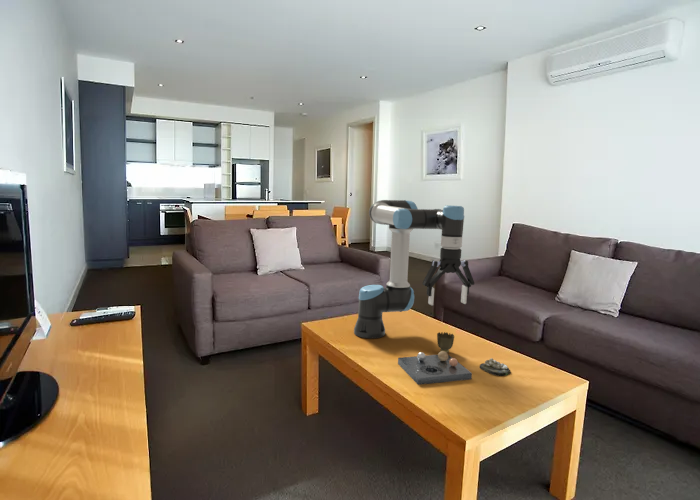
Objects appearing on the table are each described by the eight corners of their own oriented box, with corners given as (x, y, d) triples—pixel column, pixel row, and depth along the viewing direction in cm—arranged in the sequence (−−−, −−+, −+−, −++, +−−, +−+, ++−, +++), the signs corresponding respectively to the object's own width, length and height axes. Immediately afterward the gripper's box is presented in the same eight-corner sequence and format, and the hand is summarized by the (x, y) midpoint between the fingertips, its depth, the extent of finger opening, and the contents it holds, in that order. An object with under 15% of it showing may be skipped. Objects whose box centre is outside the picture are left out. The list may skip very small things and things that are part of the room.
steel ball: (415, 359, 169) (415, 351, 169) (423, 358, 170) (423, 350, 170) (419, 362, 166) (419, 354, 166) (426, 362, 167) (427, 353, 167)
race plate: (397, 363, 171) (398, 357, 170) (446, 359, 177) (447, 353, 176) (417, 384, 153) (418, 378, 152) (471, 379, 159) (472, 373, 158)
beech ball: (435, 359, 170) (436, 349, 170) (444, 358, 171) (445, 349, 171) (440, 363, 166) (441, 353, 166) (449, 362, 167) (450, 352, 167)
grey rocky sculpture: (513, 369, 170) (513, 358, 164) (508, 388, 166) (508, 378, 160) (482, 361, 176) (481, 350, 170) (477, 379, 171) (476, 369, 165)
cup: (453, 356, 180) (454, 338, 179) (435, 354, 182) (437, 336, 181) (452, 349, 188) (454, 332, 187) (436, 348, 189) (437, 331, 188)
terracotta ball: (447, 364, 165) (447, 357, 165) (454, 364, 166) (455, 356, 165) (451, 368, 162) (452, 360, 162) (458, 367, 163) (459, 359, 162)
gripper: (424, 249, 149) (420, 307, 152) (486, 249, 155) (482, 305, 158) (415, 246, 156) (412, 302, 159) (475, 246, 162) (471, 299, 165)
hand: (447, 303), depth 158 cm, fingers open, 13 cm apart
